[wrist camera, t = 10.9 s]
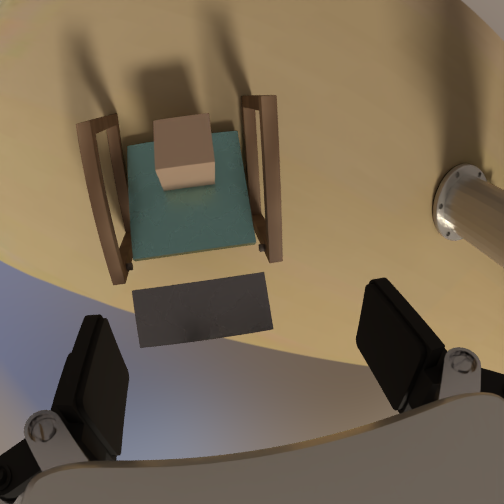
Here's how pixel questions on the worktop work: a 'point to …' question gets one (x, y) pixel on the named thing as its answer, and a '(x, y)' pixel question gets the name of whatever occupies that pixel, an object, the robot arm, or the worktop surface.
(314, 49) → the worktop surface
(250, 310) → the chair seat and backrest
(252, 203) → the frame
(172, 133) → the pinkish beige cube
